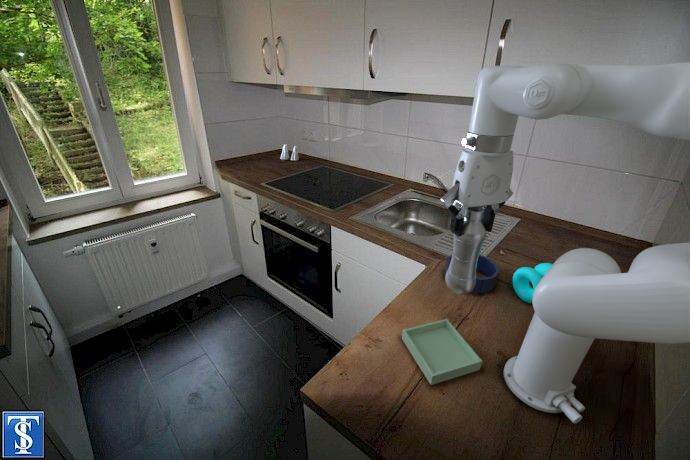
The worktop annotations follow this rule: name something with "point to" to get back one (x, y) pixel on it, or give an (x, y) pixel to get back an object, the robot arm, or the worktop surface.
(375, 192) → the worktop surface
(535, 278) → the donuts
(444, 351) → the tray
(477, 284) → the blue ring
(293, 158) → the shaker set
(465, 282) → the plastic bottle
